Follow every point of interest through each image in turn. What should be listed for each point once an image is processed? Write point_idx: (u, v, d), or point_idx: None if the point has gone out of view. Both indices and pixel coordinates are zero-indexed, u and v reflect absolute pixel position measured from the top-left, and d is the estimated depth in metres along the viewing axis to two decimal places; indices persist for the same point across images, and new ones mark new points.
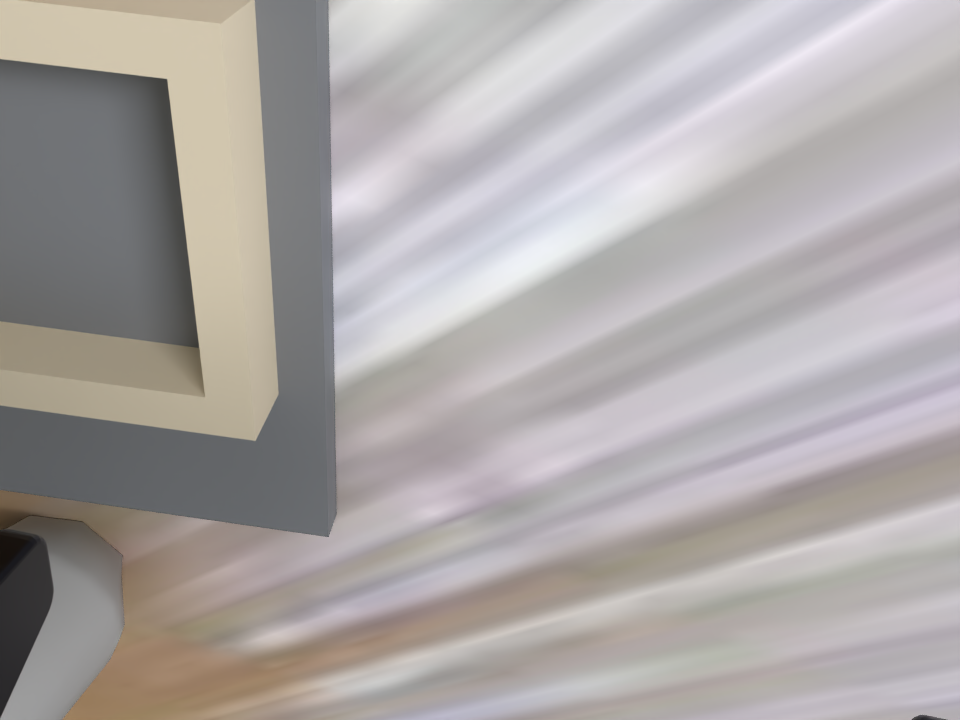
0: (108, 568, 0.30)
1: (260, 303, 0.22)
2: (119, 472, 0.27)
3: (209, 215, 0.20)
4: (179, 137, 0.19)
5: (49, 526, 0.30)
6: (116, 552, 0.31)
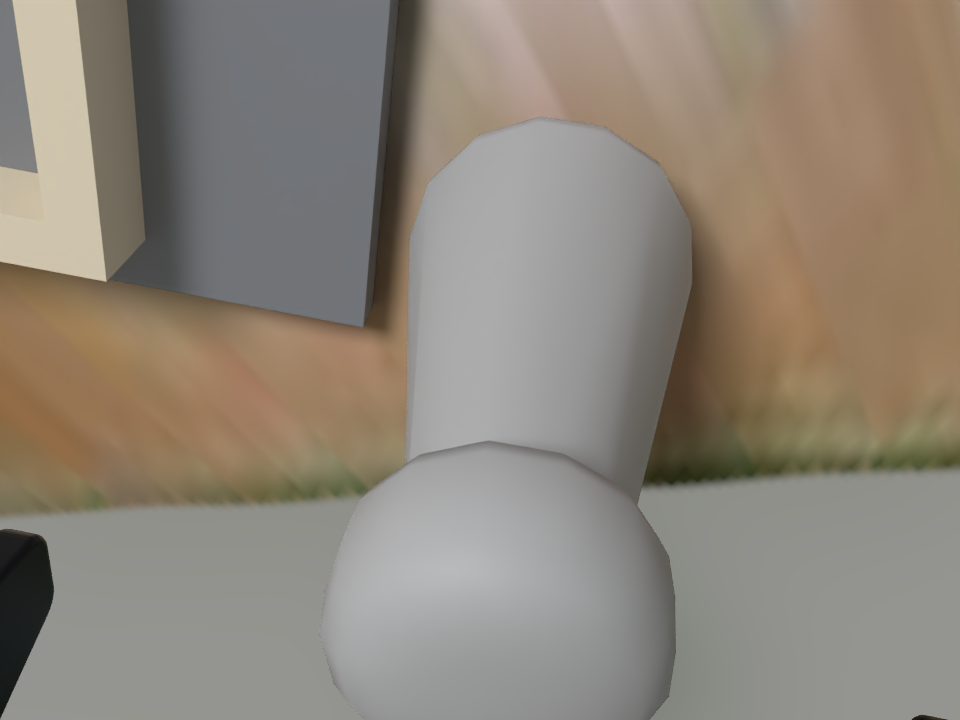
0: None
1: None
2: (312, 39, 0.18)
3: None
4: None
5: None
6: None
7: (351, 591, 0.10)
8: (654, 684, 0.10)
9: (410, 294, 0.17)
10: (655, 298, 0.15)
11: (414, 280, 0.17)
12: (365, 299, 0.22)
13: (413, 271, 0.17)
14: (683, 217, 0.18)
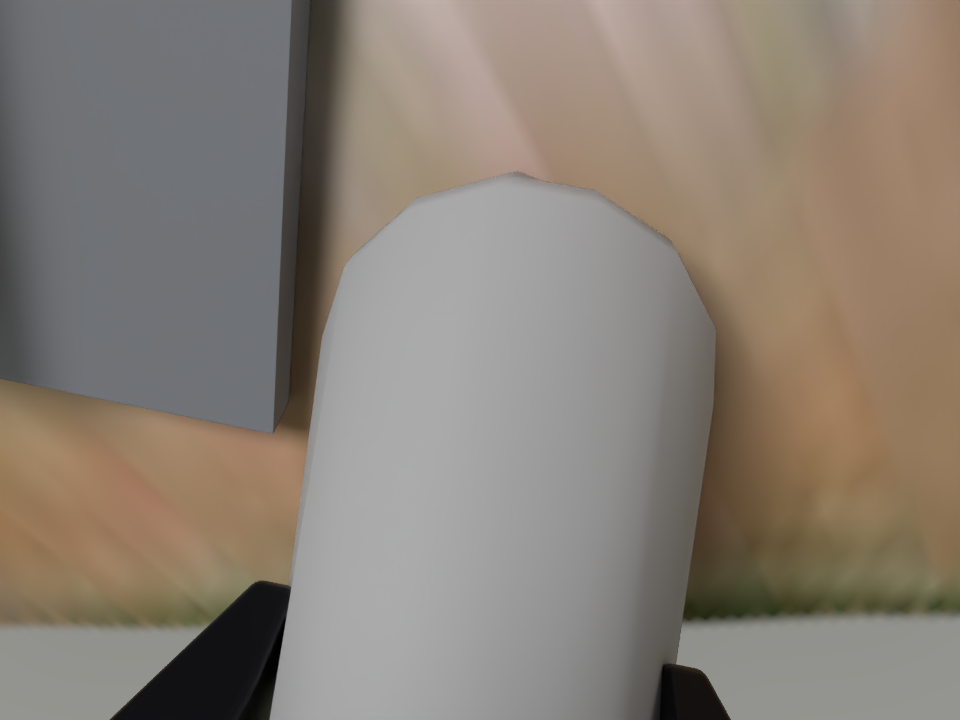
0: None
1: None
2: (185, 57, 0.13)
3: None
4: None
5: None
6: None
7: None
8: None
9: (310, 435, 0.12)
10: (670, 465, 0.10)
11: (315, 416, 0.11)
12: (274, 399, 0.16)
13: (317, 397, 0.12)
14: (705, 320, 0.12)
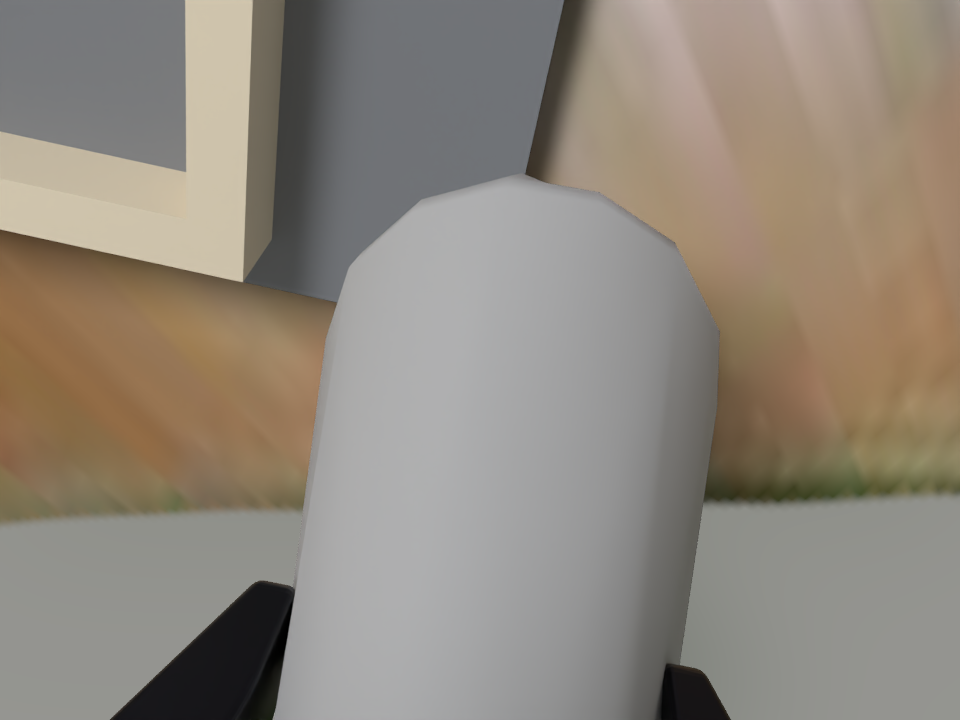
0: None
1: None
2: (476, 41, 0.18)
3: None
4: None
5: None
6: None
7: None
8: None
9: (314, 436, 0.12)
10: (674, 467, 0.10)
11: (319, 417, 0.11)
12: None
13: (321, 398, 0.12)
14: (709, 322, 0.12)
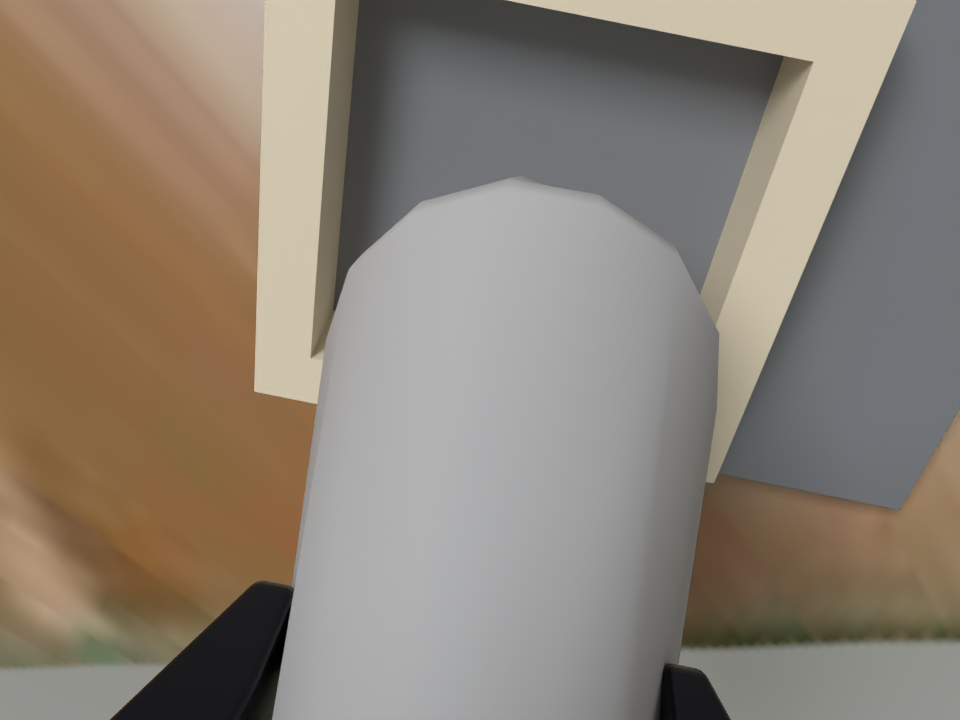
0: None
1: None
2: None
3: None
4: None
5: None
6: None
7: None
8: None
9: (313, 438, 0.12)
10: (673, 470, 0.10)
11: (319, 419, 0.12)
12: (912, 486, 0.22)
13: (321, 400, 0.12)
14: (708, 325, 0.12)
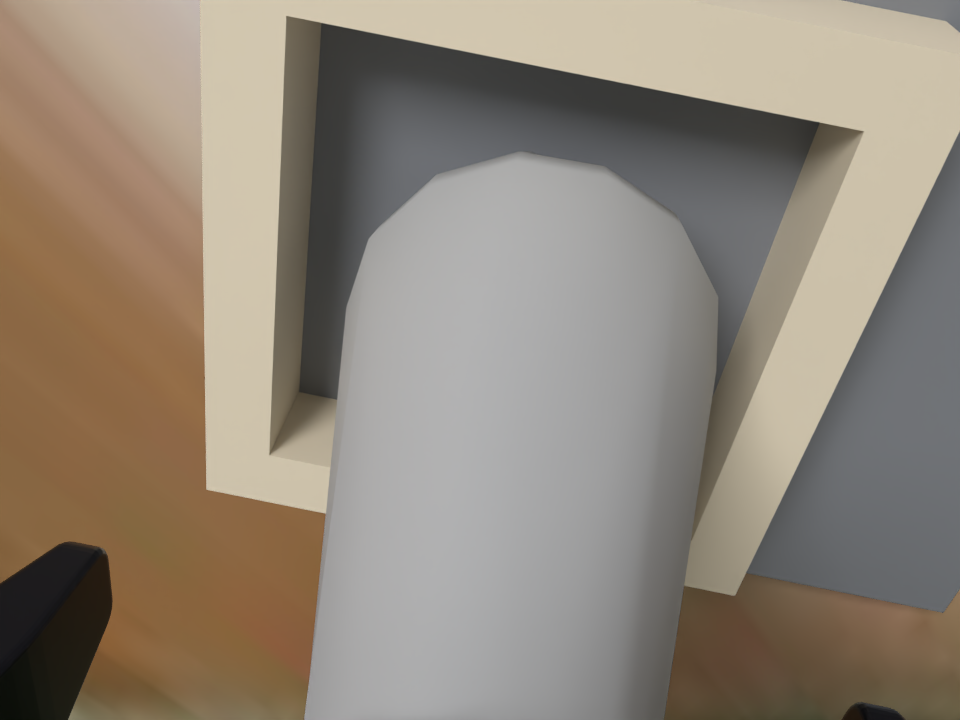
0: None
1: None
2: None
3: (504, 14, 0.12)
4: (374, 24, 0.12)
5: None
6: None
7: None
8: None
9: (339, 394, 0.12)
10: (677, 416, 0.11)
11: (344, 376, 0.12)
12: (958, 587, 0.20)
13: (345, 360, 0.13)
14: (708, 288, 0.13)
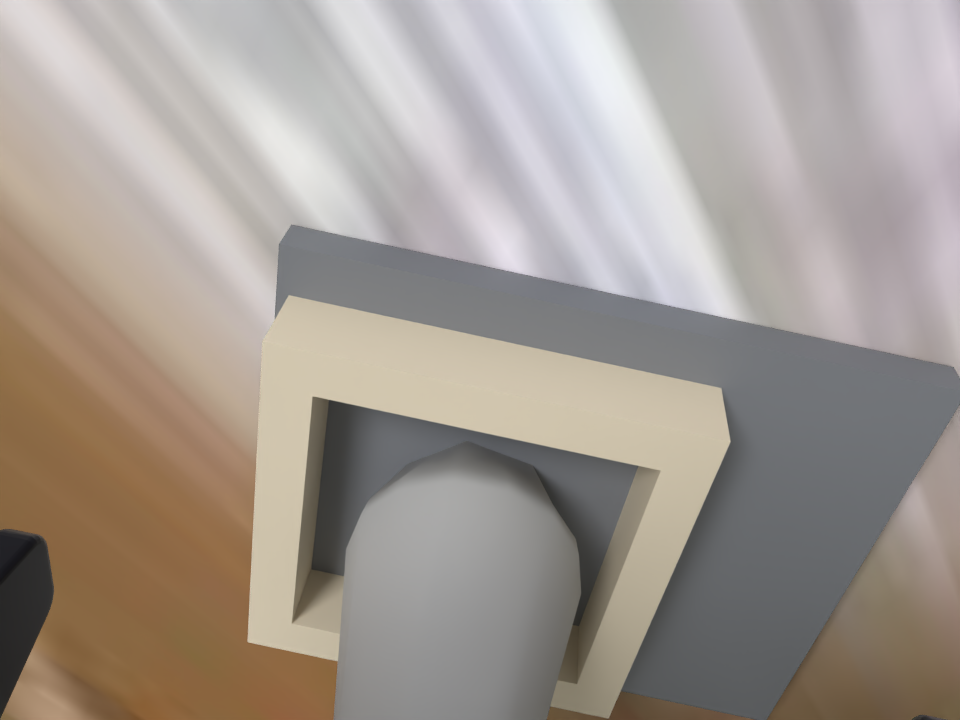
0: (440, 461, 0.22)
1: (575, 379, 0.21)
2: (798, 566, 0.24)
3: (443, 403, 0.20)
4: (365, 403, 0.20)
5: None
6: (457, 445, 0.23)
7: None
8: None
9: (341, 626, 0.20)
10: (535, 659, 0.19)
11: (345, 616, 0.20)
12: (774, 705, 0.28)
13: (345, 600, 0.21)
14: (570, 553, 0.21)
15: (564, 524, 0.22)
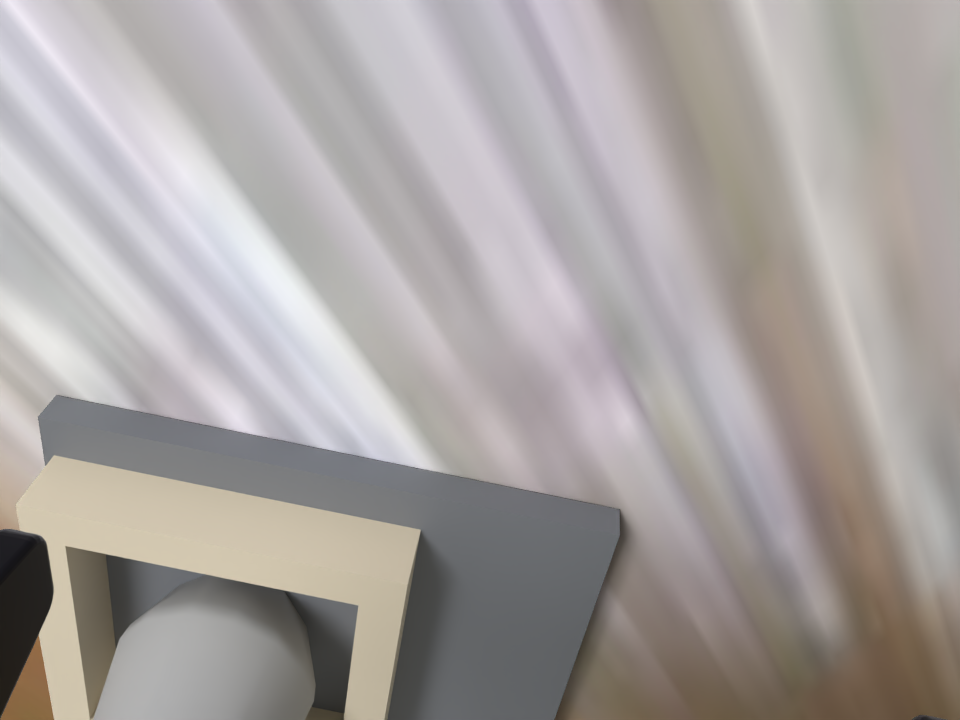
0: (193, 589, 0.26)
1: (288, 528, 0.25)
2: (521, 669, 0.28)
3: (171, 552, 0.24)
4: (109, 551, 0.24)
5: None
6: None
7: None
8: None
9: None
10: None
11: None
12: None
13: None
14: (293, 671, 0.25)
15: (291, 645, 0.26)
